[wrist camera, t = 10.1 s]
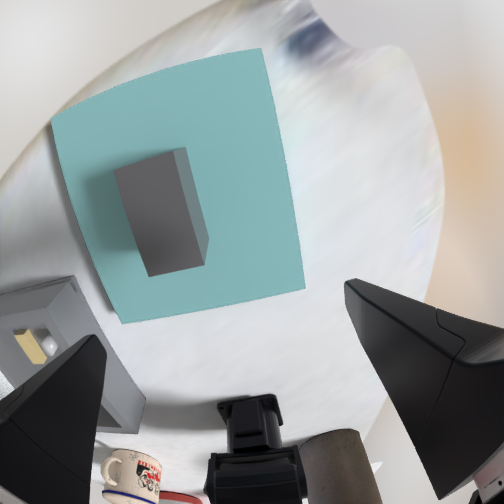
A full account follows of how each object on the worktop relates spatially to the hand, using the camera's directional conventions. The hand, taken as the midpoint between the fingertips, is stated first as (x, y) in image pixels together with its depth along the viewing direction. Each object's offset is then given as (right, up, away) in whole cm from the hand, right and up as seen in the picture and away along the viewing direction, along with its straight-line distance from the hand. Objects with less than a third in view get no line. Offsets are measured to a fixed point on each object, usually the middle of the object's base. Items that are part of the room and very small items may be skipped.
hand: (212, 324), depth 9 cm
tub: (-19, -8, +15) cm, 26 cm away
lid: (-4, +6, +10) cm, 13 cm away
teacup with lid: (-18, -30, +25) cm, 43 cm away
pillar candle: (+13, -27, +26) cm, 39 cm away
